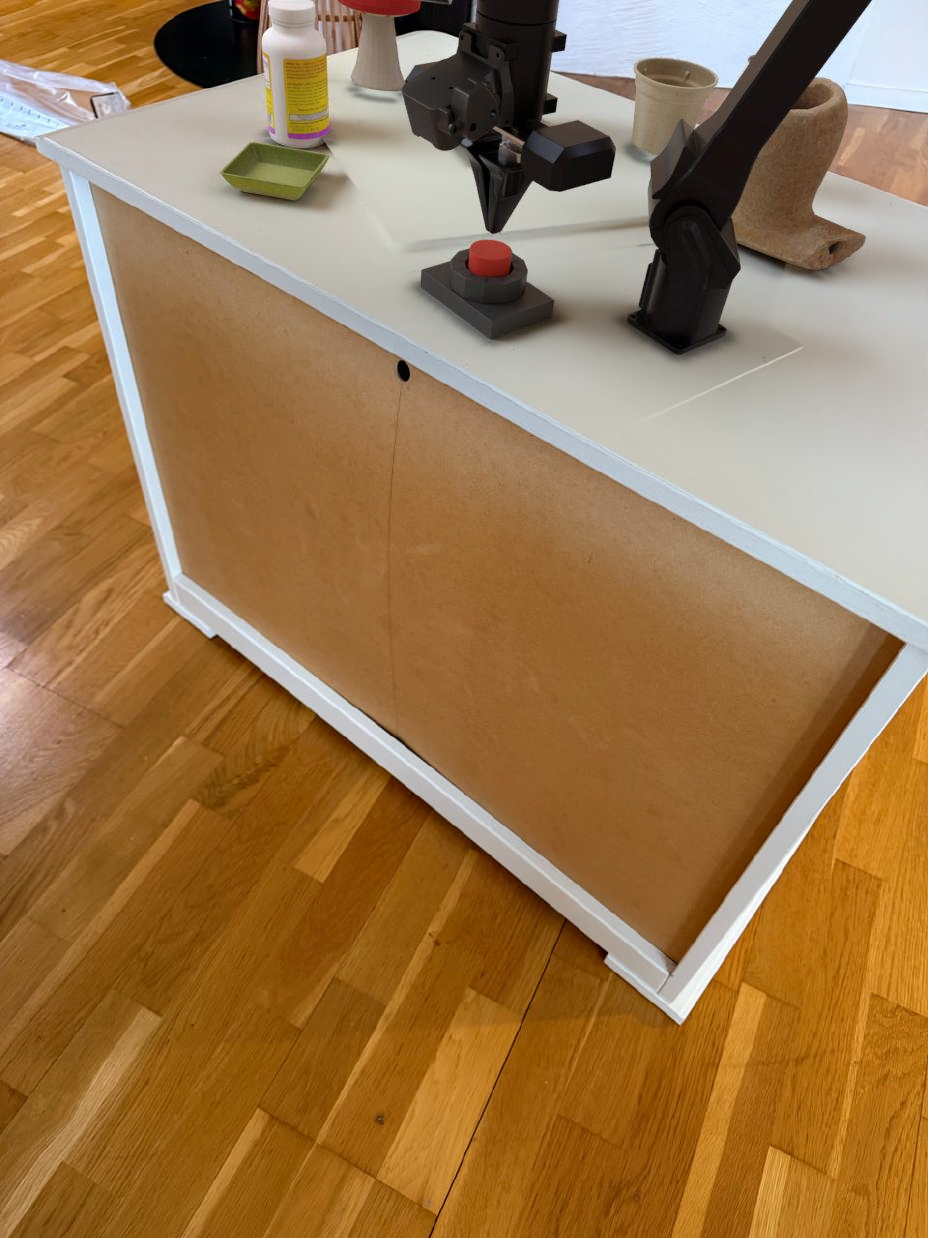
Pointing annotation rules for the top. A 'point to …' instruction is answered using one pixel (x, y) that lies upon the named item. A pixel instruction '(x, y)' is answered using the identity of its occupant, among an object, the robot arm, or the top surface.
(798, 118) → the clay smoking pipe
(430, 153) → the top surface
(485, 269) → the button
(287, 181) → the olive green shallow tray
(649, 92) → the flower pot
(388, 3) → the decorative mushroom
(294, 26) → the supplement bottle
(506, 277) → the box
